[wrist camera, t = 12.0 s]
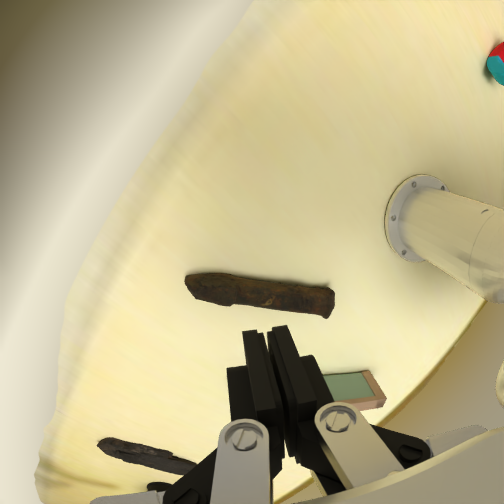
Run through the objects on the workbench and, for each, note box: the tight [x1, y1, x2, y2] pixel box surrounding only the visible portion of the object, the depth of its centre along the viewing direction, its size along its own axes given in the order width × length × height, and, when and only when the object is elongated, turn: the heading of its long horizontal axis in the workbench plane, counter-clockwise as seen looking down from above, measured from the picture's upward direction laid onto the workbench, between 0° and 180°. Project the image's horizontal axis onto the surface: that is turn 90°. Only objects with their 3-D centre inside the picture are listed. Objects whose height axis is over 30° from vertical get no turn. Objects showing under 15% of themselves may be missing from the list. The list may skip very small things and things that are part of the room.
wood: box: [97, 438, 197, 475], centre depth 49 cm, size 22×7×3 cm, turn 64°
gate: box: [323, 371, 387, 411], centre depth 43 cm, size 2×19×7 cm, turn 84°
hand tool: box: [184, 273, 335, 319], centre depth 38 cm, size 19×4×5 cm, turn 75°
